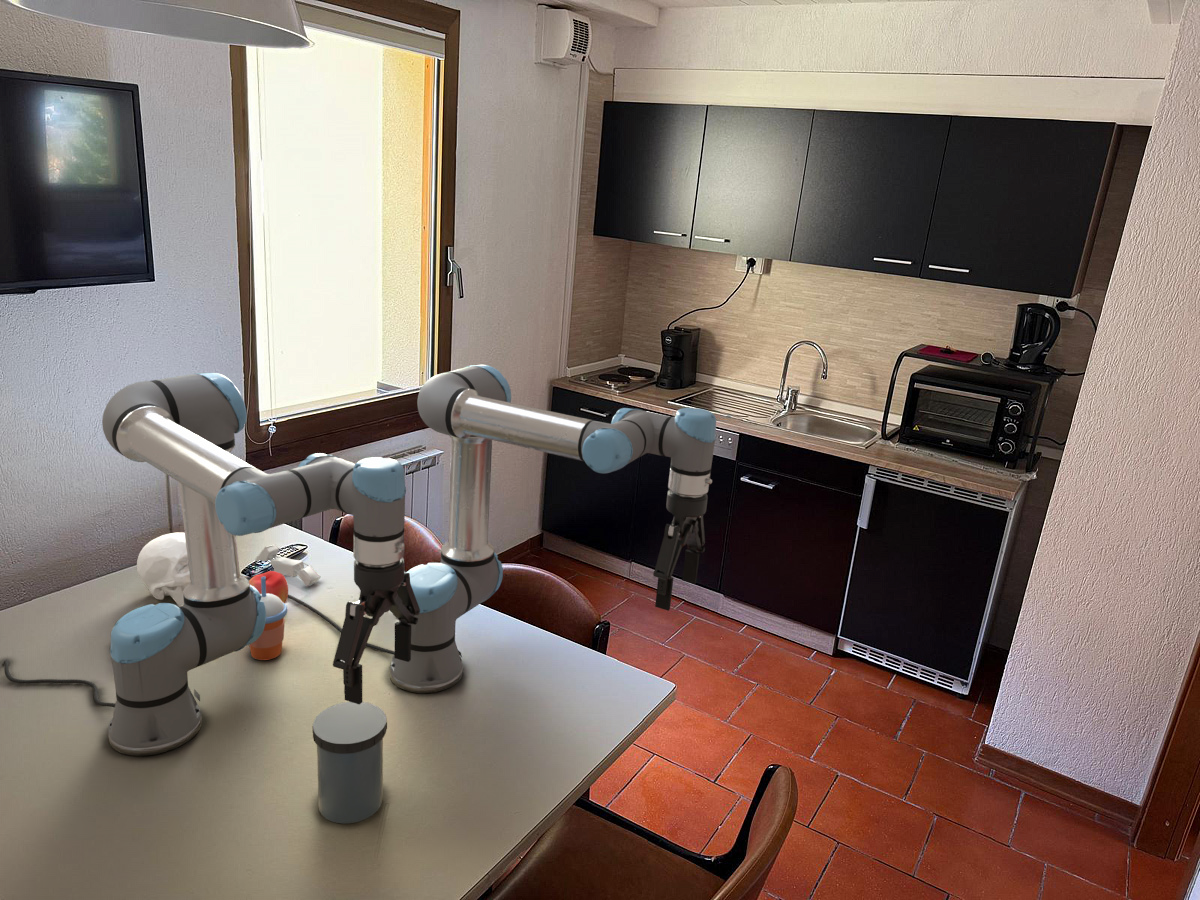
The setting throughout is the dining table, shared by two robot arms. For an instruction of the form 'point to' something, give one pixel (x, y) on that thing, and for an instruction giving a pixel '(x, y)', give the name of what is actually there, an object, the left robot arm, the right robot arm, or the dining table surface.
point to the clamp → (288, 565)
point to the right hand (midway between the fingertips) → (676, 594)
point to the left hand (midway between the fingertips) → (379, 679)
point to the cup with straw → (270, 627)
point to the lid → (349, 727)
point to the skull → (165, 566)
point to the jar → (350, 784)
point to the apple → (272, 584)
